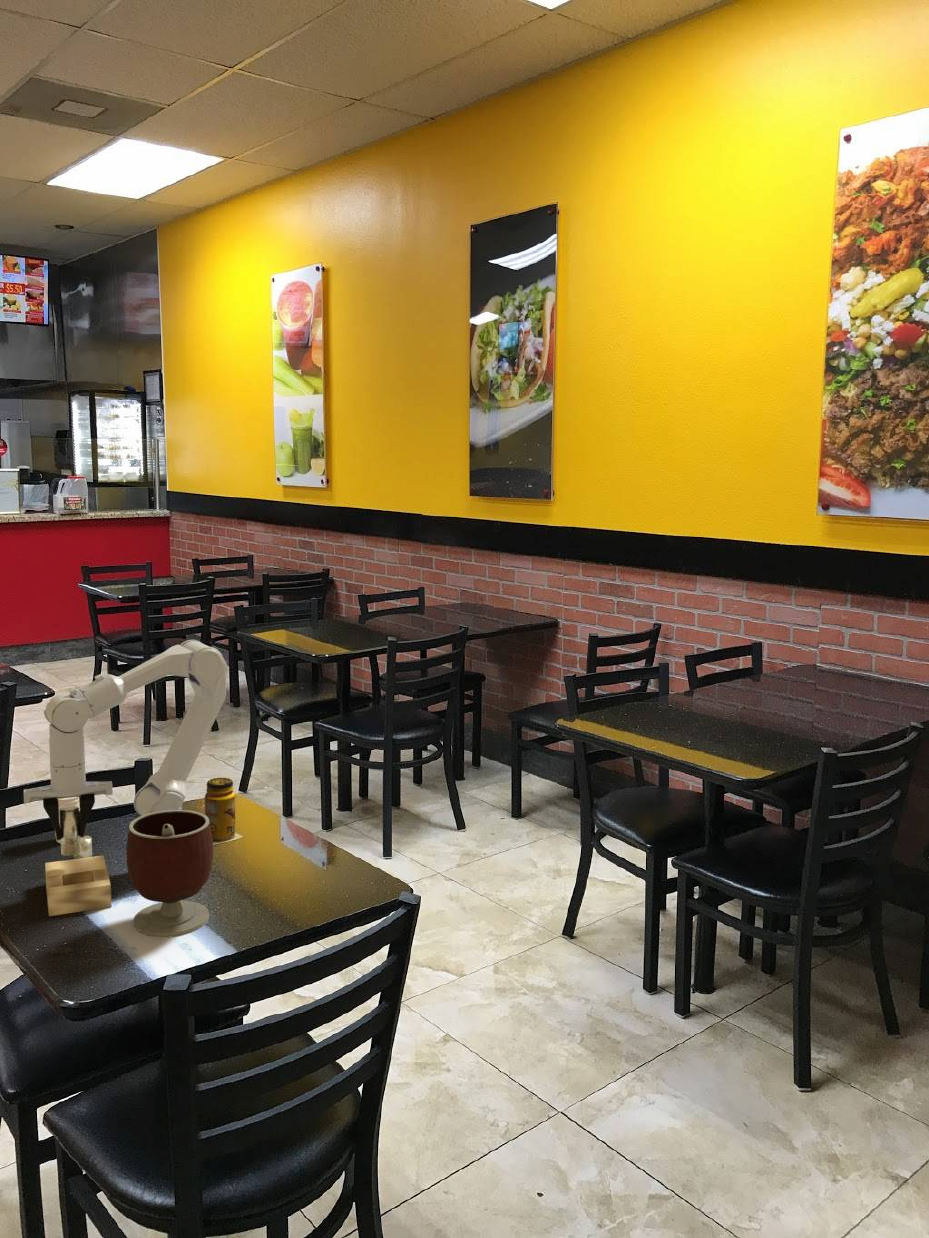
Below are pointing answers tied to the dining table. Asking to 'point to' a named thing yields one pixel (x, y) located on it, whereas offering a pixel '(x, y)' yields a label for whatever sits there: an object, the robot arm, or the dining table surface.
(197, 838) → the mate gourd
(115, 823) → the dining table surface
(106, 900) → the pin block
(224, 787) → the condiment
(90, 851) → the short pin
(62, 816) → the tall pin
